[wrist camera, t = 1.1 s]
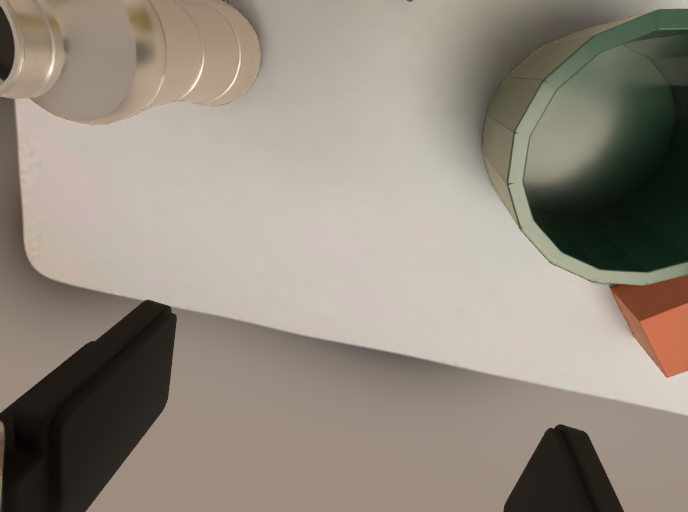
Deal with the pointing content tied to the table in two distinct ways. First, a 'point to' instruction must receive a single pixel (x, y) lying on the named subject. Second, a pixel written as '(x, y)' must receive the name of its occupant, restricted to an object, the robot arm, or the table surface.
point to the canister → (599, 149)
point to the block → (659, 320)
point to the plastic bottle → (124, 55)
